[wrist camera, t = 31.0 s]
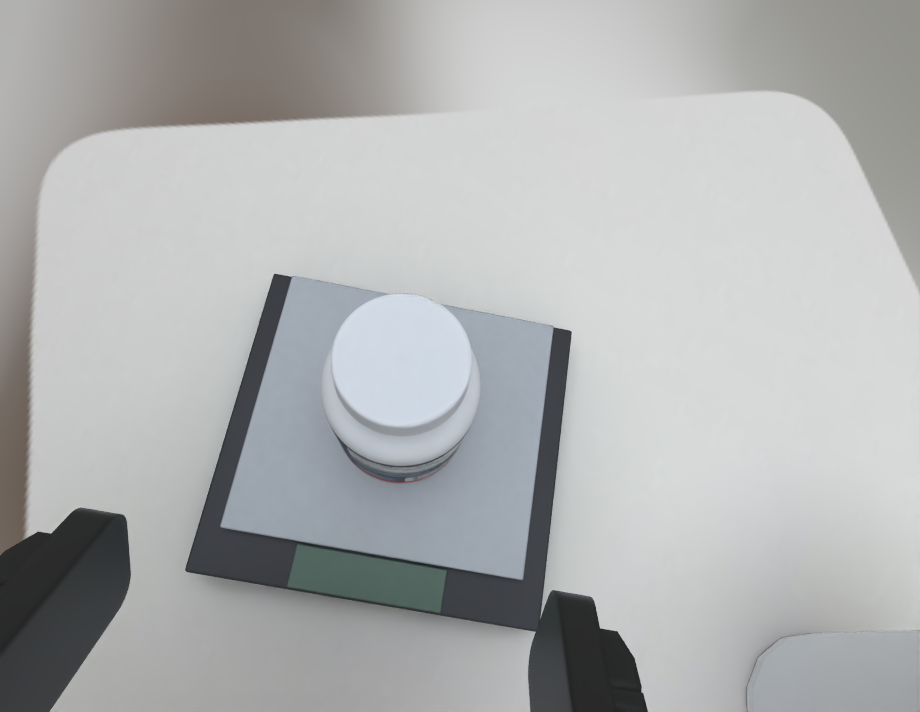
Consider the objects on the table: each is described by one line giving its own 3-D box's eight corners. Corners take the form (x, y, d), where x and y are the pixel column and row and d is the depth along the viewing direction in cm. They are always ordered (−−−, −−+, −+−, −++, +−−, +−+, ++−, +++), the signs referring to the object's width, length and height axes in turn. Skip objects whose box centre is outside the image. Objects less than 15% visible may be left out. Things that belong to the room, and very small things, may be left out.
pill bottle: (355, 350, 26) (334, 251, 17) (473, 375, 26) (509, 289, 18) (323, 471, 24) (283, 427, 16) (449, 497, 24) (477, 467, 16)
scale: (202, 570, 25) (178, 572, 22) (283, 294, 29) (270, 266, 27) (526, 625, 26) (542, 634, 23) (559, 347, 30) (576, 325, 27)
